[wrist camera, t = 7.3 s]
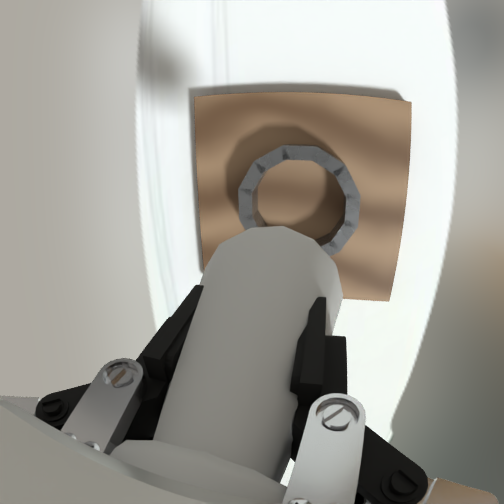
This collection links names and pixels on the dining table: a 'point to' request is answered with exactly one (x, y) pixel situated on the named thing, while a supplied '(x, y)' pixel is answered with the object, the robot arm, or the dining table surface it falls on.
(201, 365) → the salt shaker
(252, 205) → the collar
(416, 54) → the dining table surface
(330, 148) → the board
